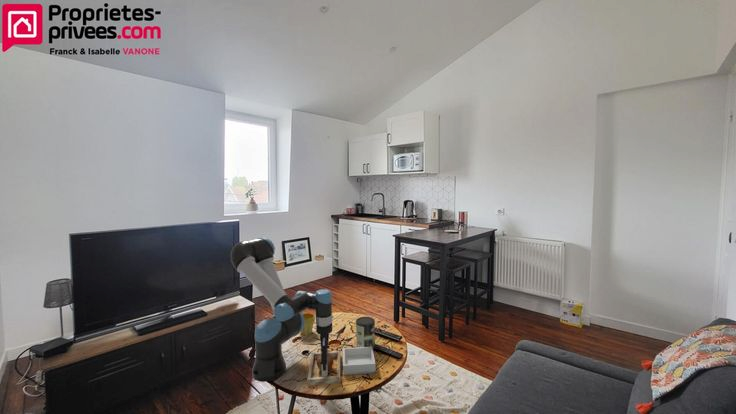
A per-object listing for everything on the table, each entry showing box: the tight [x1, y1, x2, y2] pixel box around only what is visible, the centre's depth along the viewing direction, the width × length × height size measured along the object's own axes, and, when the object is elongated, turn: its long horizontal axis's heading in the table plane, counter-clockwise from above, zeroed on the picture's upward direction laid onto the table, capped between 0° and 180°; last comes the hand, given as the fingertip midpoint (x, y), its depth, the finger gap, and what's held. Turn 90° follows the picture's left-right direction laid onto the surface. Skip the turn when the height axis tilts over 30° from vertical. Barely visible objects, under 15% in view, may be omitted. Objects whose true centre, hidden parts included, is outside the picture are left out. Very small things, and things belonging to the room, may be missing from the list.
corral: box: [306, 350, 341, 386], centre depth 141 cm, size 14×21×2 cm
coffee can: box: [355, 316, 376, 350], centre depth 161 cm, size 10×10×14 cm
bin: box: [342, 346, 377, 376], centre depth 144 cm, size 15×15×4 cm
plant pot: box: [300, 312, 316, 336], centre depth 177 cm, size 10×10×10 cm
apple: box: [316, 353, 335, 372], centre depth 141 cm, size 8×8×8 cm
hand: (325, 368), depth 141 cm, fingers open, 10 cm apart
